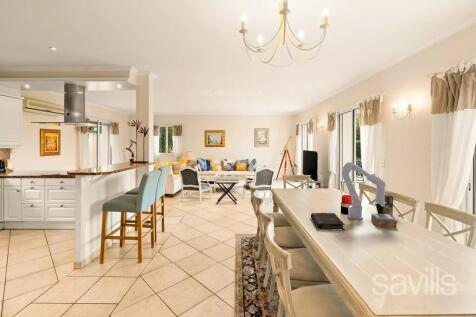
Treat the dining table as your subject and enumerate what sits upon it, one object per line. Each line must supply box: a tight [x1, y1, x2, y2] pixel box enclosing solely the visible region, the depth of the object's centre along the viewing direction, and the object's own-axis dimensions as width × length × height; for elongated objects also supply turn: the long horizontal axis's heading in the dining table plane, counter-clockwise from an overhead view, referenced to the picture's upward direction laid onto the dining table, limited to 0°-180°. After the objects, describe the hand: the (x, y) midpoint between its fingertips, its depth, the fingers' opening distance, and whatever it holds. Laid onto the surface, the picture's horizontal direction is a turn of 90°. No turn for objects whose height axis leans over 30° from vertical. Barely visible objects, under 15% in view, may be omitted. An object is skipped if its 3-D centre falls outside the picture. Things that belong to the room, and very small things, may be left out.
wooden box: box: [370, 213, 398, 229], centre depth 172 cm, size 12×13×5 cm
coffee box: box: [381, 194, 394, 217], centre depth 196 cm, size 9×6×16 cm
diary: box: [310, 212, 346, 231], centre depth 174 cm, size 19×25×5 cm
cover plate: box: [372, 213, 395, 221], centre depth 173 cm, size 10×11×2 cm
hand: (379, 213), depth 181 cm, fingers closed
